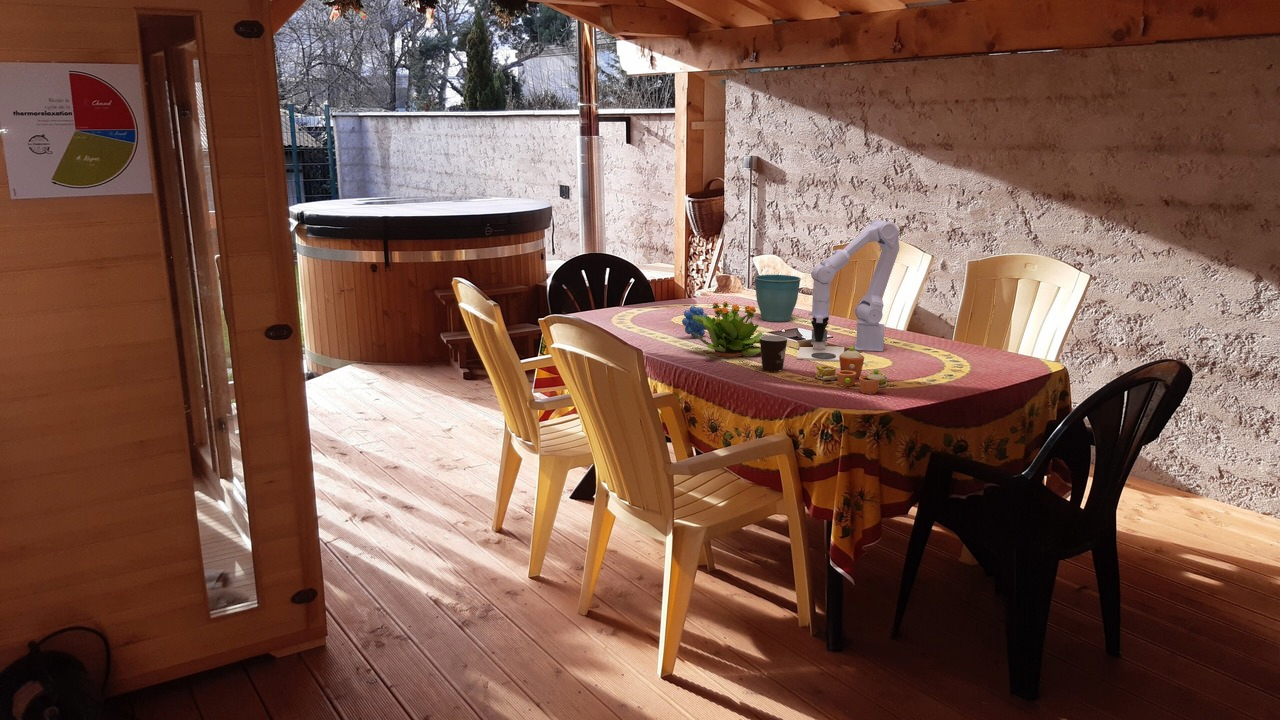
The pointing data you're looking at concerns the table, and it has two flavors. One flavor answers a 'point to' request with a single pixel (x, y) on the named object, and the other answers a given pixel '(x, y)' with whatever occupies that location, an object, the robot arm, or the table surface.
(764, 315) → the flower pot
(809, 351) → the board
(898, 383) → the table surface
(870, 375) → the toy tea set
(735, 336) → the potted flower
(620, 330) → the table surface
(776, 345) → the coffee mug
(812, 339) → the knob
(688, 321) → the grapes
